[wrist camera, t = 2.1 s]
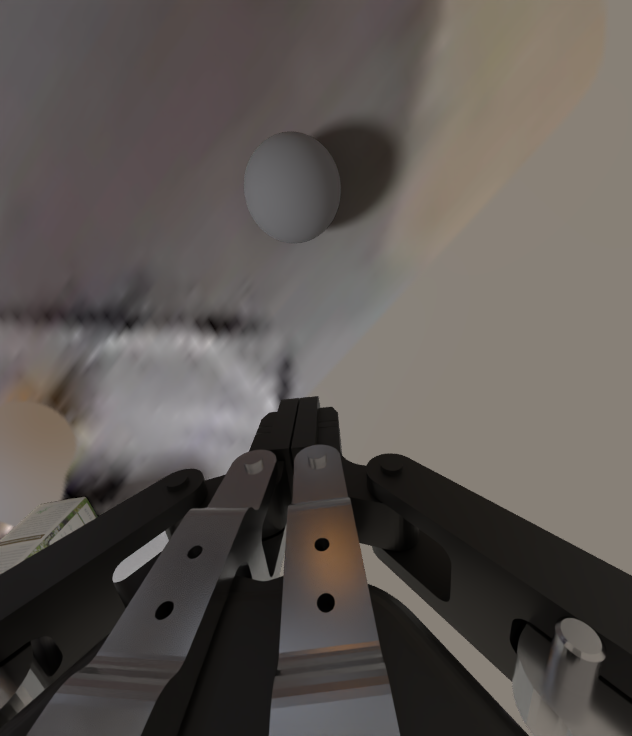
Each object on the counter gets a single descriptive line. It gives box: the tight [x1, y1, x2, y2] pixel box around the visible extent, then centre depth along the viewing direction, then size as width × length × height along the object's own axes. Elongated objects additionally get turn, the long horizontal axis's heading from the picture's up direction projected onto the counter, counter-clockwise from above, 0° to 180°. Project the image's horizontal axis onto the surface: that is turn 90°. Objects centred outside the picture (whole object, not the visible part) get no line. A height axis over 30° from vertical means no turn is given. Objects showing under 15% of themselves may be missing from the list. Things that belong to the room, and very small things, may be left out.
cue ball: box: [244, 132, 341, 243], centre depth 19 cm, size 6×6×6 cm
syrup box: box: [0, 497, 97, 574], centre depth 27 cm, size 6×6×14 cm
